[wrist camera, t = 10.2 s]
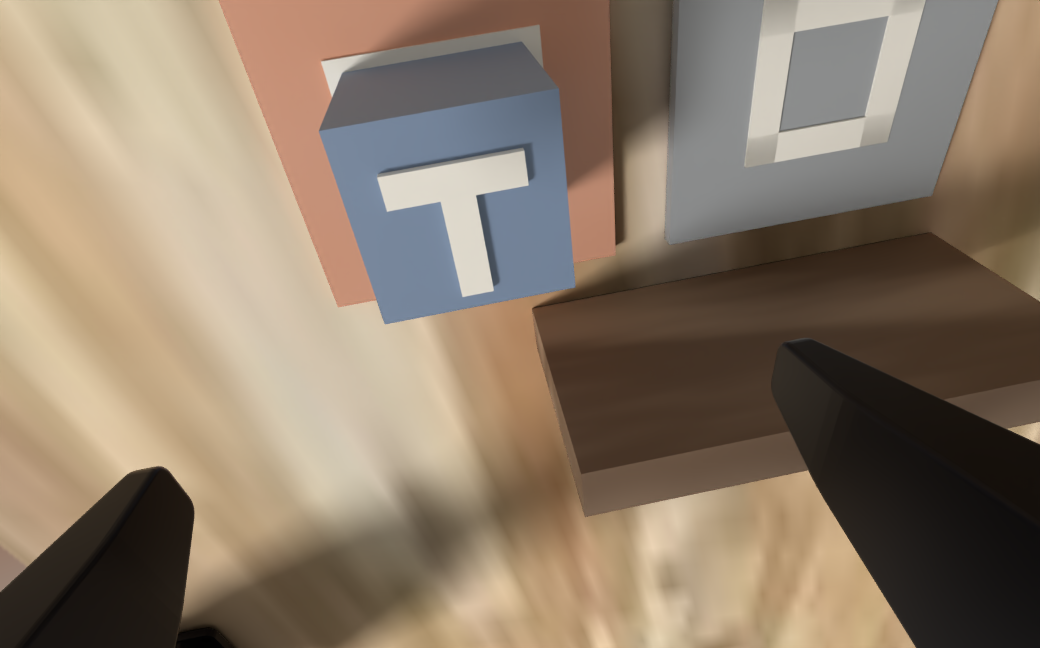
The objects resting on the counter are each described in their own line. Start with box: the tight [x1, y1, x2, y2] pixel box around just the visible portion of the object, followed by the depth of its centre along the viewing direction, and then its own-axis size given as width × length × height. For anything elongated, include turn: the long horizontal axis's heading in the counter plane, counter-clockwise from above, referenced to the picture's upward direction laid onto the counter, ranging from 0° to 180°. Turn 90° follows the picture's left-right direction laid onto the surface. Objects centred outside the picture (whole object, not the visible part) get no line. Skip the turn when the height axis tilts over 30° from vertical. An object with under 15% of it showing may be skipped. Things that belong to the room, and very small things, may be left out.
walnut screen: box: [532, 233, 1040, 517], centre depth 20 cm, size 2×16×8 cm, turn 97°
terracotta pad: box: [219, 0, 616, 307], centre depth 17 cm, size 10×10×1 cm
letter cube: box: [319, 41, 575, 324], centre depth 15 cm, size 5×5×5 cm
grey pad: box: [665, 0, 998, 245], centre depth 18 cm, size 10×10×1 cm
